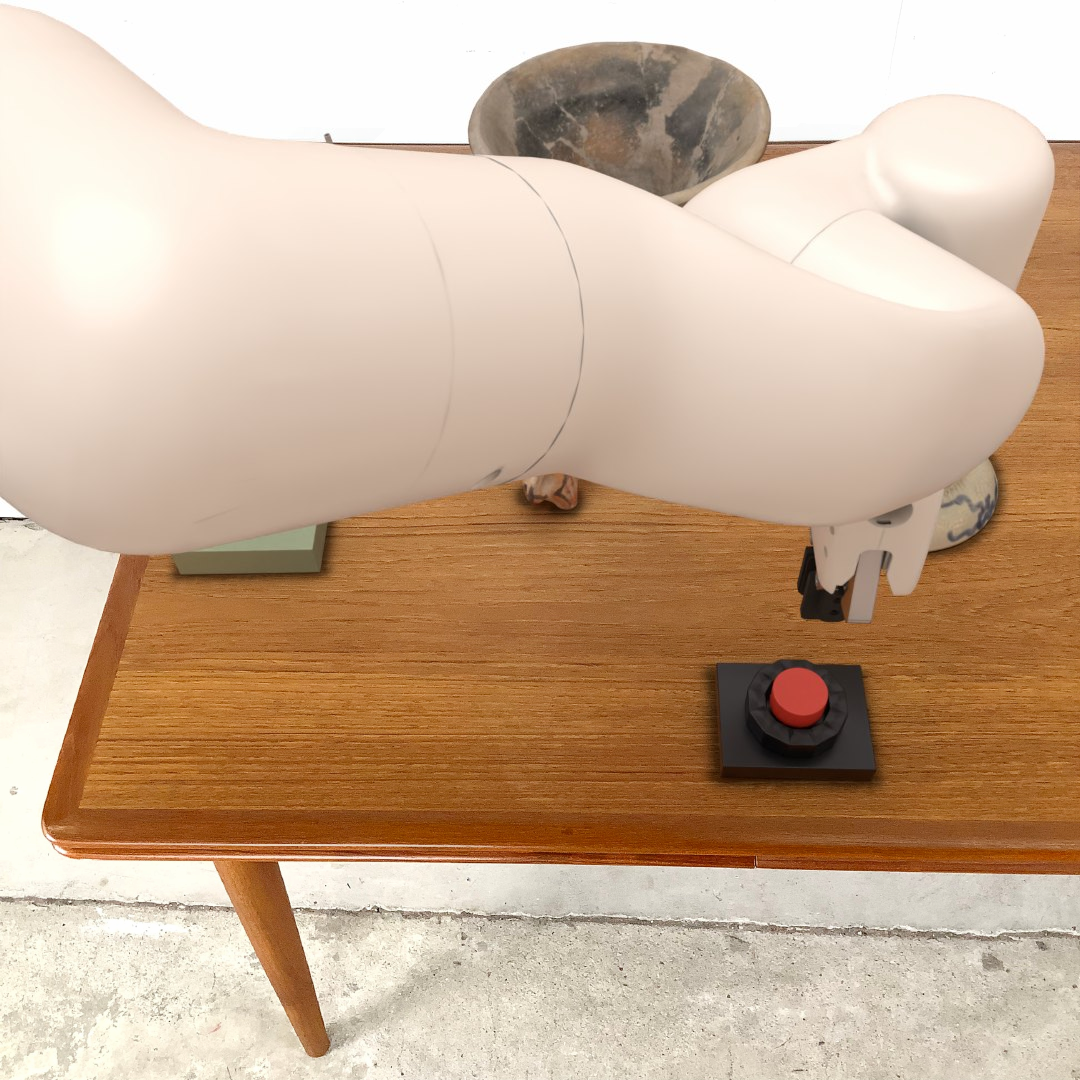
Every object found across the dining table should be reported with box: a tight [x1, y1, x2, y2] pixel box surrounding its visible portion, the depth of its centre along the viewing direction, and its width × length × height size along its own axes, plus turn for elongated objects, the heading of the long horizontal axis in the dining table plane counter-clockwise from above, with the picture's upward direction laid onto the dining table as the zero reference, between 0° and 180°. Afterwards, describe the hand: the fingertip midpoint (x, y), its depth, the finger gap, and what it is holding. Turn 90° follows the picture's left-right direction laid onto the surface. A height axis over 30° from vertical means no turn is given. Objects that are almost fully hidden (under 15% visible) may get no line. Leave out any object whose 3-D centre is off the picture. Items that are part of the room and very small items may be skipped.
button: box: [770, 668, 828, 728], centre depth 74 cm, size 4×4×2 cm
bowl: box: [467, 40, 772, 208], centre depth 104 cm, size 27×26×15 cm
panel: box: [170, 522, 329, 575], centre depth 90 cm, size 14×11×3 cm
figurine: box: [520, 473, 580, 510], centre depth 89 cm, size 7×16×10 cm, turn 158°
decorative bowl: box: [928, 457, 999, 553], centre depth 89 cm, size 15×4×15 cm
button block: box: [714, 658, 877, 782], centre depth 76 cm, size 10×8×4 cm
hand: (825, 602), depth 65 cm, fingers closed
